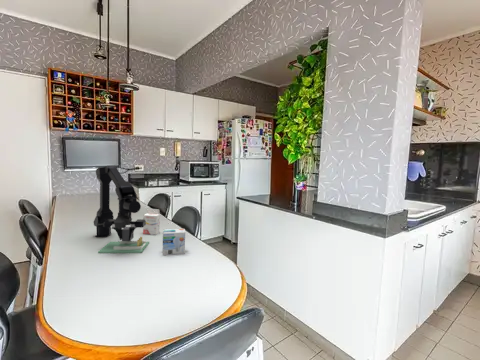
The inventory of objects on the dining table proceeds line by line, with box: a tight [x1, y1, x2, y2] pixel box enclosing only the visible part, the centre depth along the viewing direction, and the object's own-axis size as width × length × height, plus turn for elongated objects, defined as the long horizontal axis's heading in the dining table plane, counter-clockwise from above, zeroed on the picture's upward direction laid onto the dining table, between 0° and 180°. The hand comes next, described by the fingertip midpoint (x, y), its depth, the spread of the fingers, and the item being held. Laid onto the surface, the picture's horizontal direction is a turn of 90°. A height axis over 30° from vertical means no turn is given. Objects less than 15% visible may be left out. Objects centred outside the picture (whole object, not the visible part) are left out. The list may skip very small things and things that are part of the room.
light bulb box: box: [162, 228, 186, 256], centre depth 122 cm, size 11×7×11 cm, turn 105°
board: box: [97, 236, 150, 254], centre depth 126 cm, size 20×14×5 cm
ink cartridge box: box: [142, 208, 161, 236], centre depth 150 cm, size 9×5×15 cm, turn 84°
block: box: [121, 226, 134, 241], centre depth 129 cm, size 4×6×6 cm
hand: (125, 239), depth 126 cm, fingers closed on block, 4 cm apart
